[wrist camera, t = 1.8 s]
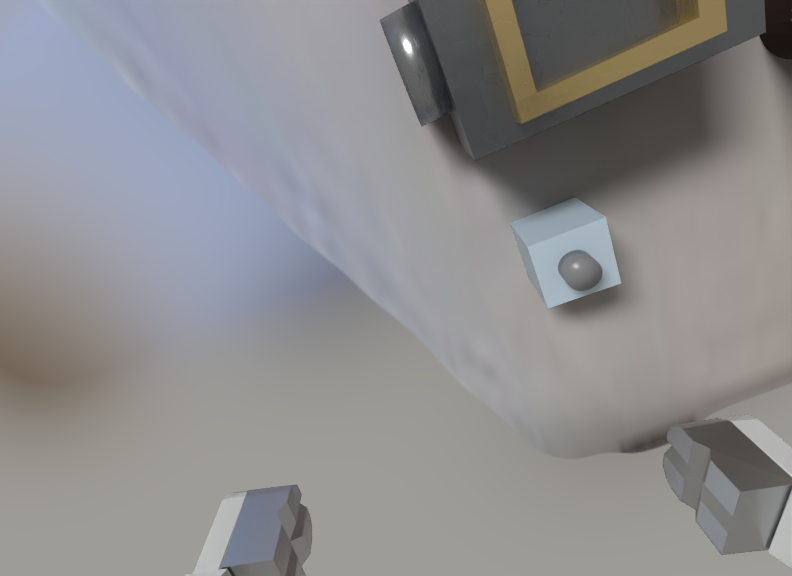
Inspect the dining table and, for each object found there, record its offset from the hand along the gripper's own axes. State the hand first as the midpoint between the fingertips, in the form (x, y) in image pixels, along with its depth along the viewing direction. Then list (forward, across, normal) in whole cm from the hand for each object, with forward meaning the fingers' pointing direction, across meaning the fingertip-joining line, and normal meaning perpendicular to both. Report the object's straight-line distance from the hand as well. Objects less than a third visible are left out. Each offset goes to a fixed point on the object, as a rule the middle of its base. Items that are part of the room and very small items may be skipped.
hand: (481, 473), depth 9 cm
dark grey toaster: (+23, -10, -11) cm, 28 cm away
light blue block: (+23, -11, +4) cm, 26 cm away
